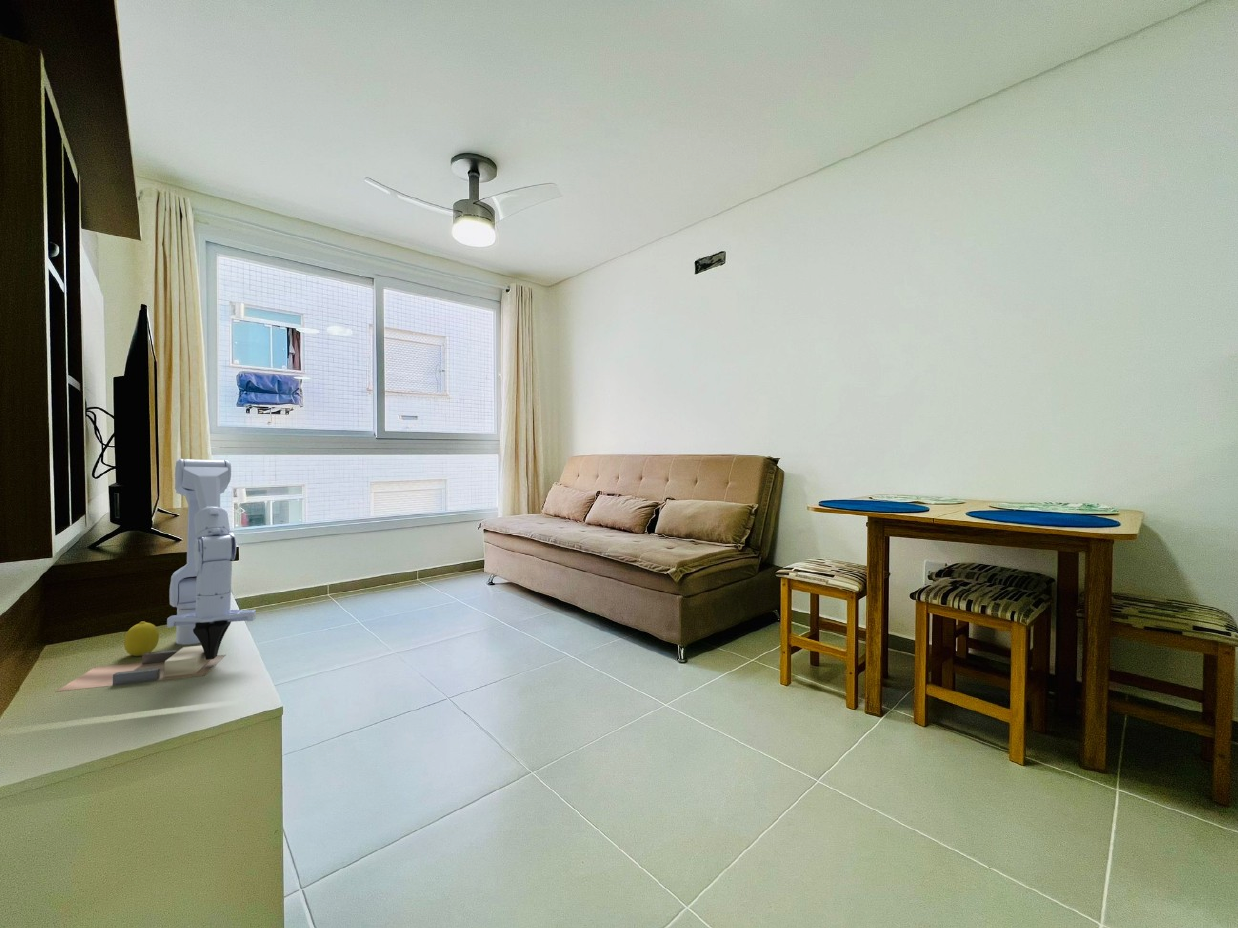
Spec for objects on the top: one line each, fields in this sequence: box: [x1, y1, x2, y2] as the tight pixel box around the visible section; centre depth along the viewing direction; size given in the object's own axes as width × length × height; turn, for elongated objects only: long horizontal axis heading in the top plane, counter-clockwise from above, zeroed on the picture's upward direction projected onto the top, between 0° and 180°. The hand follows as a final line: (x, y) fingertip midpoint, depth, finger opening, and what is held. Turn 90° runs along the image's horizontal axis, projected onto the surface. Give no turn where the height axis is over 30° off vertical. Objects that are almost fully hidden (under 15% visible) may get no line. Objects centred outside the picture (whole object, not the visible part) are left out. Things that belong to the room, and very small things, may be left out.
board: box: [55, 654, 226, 693], centre depth 100 cm, size 12×22×1 cm, turn 112°
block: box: [164, 645, 211, 677], centre depth 103 cm, size 8×5×3 cm, turn 22°
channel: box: [113, 649, 180, 686], centre depth 100 cm, size 12×6×2 cm, turn 22°
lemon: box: [123, 620, 160, 657], centre depth 109 cm, size 6×6×8 cm
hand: (211, 657), depth 104 cm, fingers closed
